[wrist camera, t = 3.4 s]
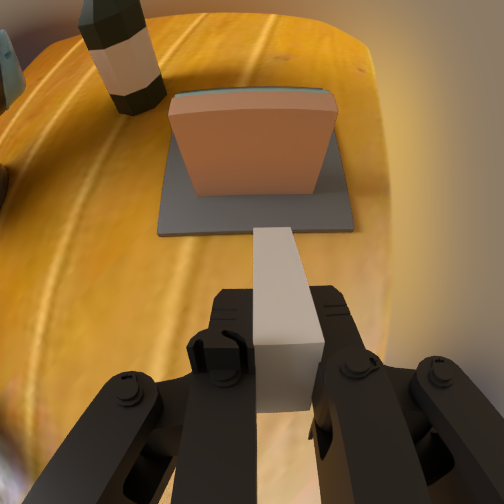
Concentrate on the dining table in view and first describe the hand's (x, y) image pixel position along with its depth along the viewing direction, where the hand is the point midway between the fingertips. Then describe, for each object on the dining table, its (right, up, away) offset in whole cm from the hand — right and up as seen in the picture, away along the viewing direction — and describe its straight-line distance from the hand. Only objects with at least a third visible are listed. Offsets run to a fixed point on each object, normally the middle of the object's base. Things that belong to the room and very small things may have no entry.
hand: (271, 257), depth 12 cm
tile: (-1, +7, +17) cm, 19 cm away
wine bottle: (-18, +24, +24) cm, 38 cm away
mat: (-1, +12, +20) cm, 24 cm away
